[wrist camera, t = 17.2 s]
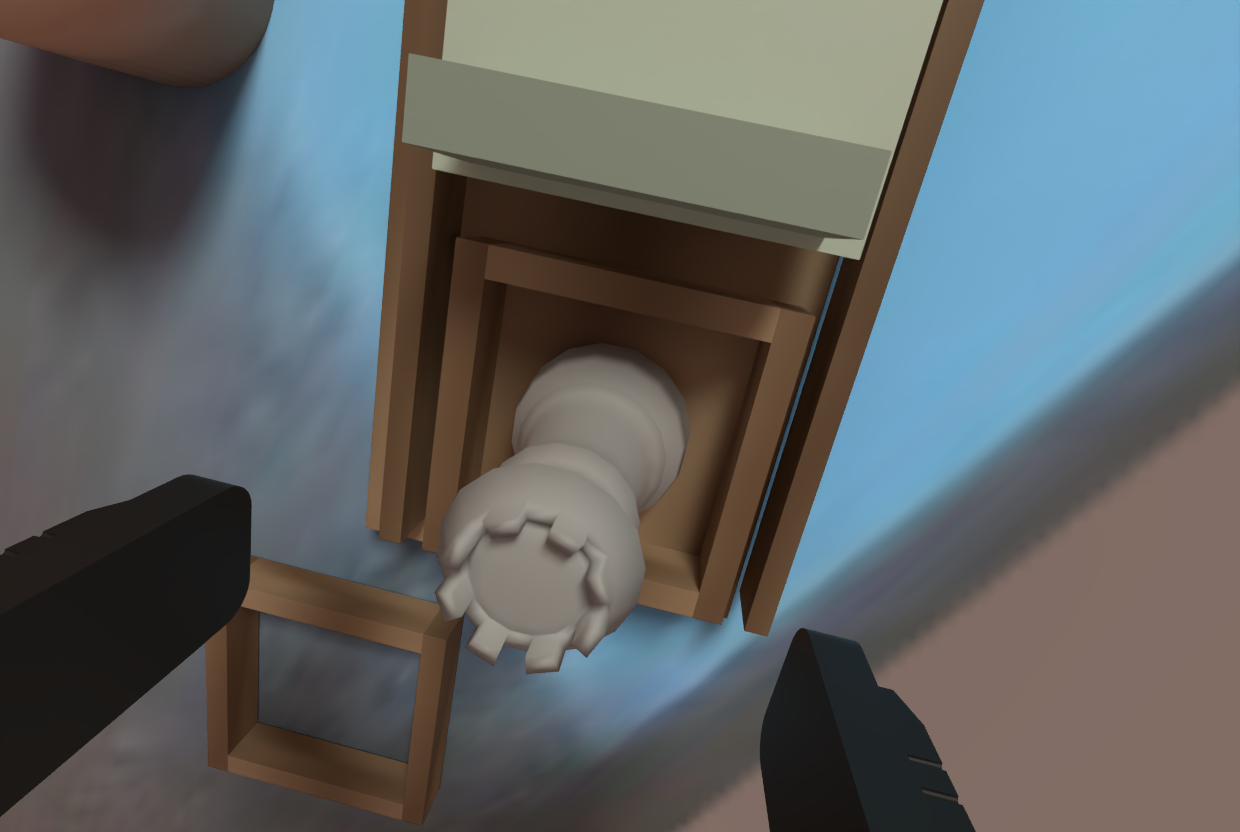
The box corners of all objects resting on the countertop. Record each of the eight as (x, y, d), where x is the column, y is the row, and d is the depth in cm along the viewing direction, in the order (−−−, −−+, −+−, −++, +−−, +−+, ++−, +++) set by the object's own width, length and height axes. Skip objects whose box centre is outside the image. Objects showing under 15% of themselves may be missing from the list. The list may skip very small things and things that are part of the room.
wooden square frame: (239, 732, 23) (208, 765, 21) (239, 552, 20) (203, 576, 19) (439, 787, 22) (421, 826, 21) (465, 610, 20) (446, 640, 18)
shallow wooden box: (385, 509, 19) (329, 558, 16) (456, -317, 13) (386, -478, 10) (747, 600, 18) (756, 667, 15) (1012, -227, 12) (1110, -371, 9)
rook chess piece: (687, 503, 16) (679, 742, 9) (528, 495, 17) (387, 713, 9) (693, 341, 15) (689, 454, 7) (519, 337, 15) (348, 440, 8)
